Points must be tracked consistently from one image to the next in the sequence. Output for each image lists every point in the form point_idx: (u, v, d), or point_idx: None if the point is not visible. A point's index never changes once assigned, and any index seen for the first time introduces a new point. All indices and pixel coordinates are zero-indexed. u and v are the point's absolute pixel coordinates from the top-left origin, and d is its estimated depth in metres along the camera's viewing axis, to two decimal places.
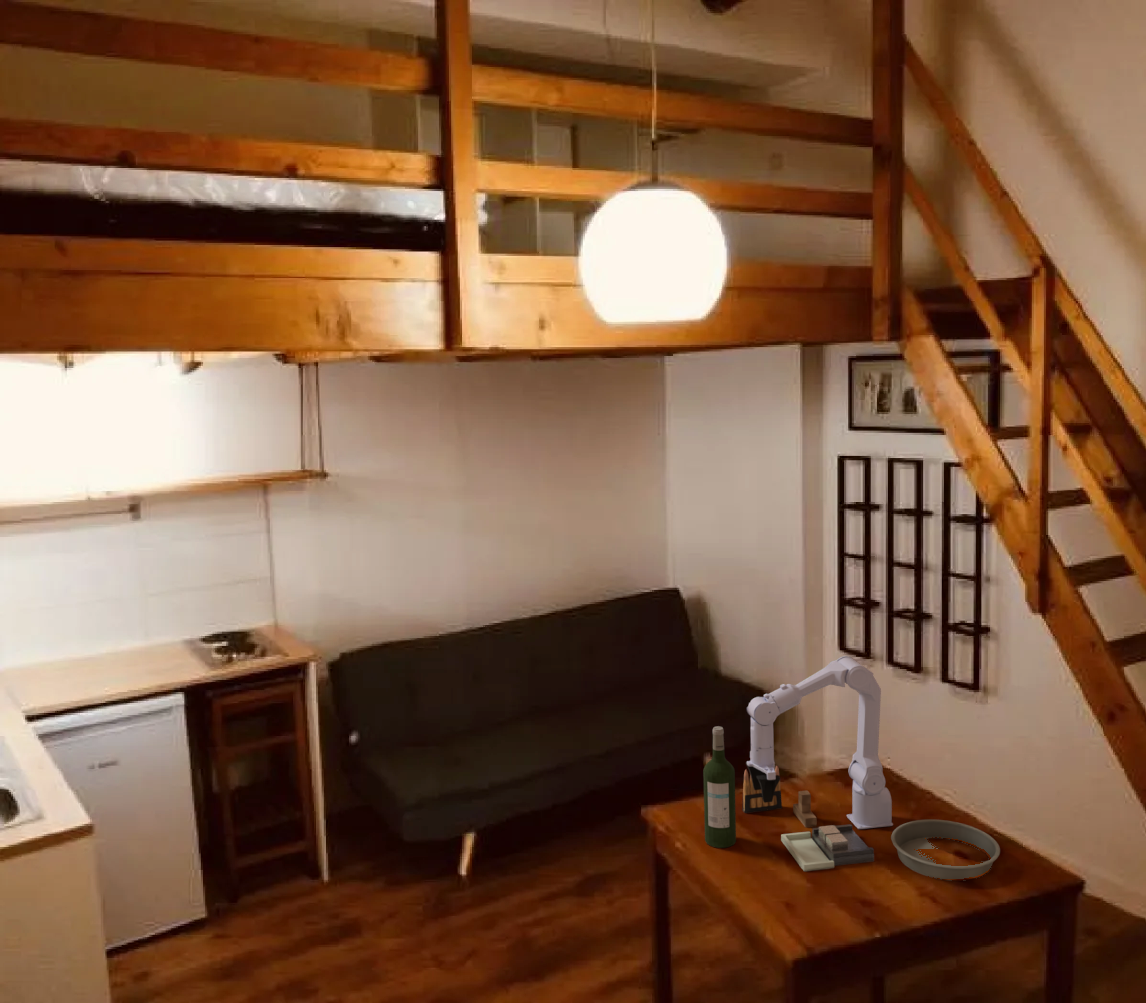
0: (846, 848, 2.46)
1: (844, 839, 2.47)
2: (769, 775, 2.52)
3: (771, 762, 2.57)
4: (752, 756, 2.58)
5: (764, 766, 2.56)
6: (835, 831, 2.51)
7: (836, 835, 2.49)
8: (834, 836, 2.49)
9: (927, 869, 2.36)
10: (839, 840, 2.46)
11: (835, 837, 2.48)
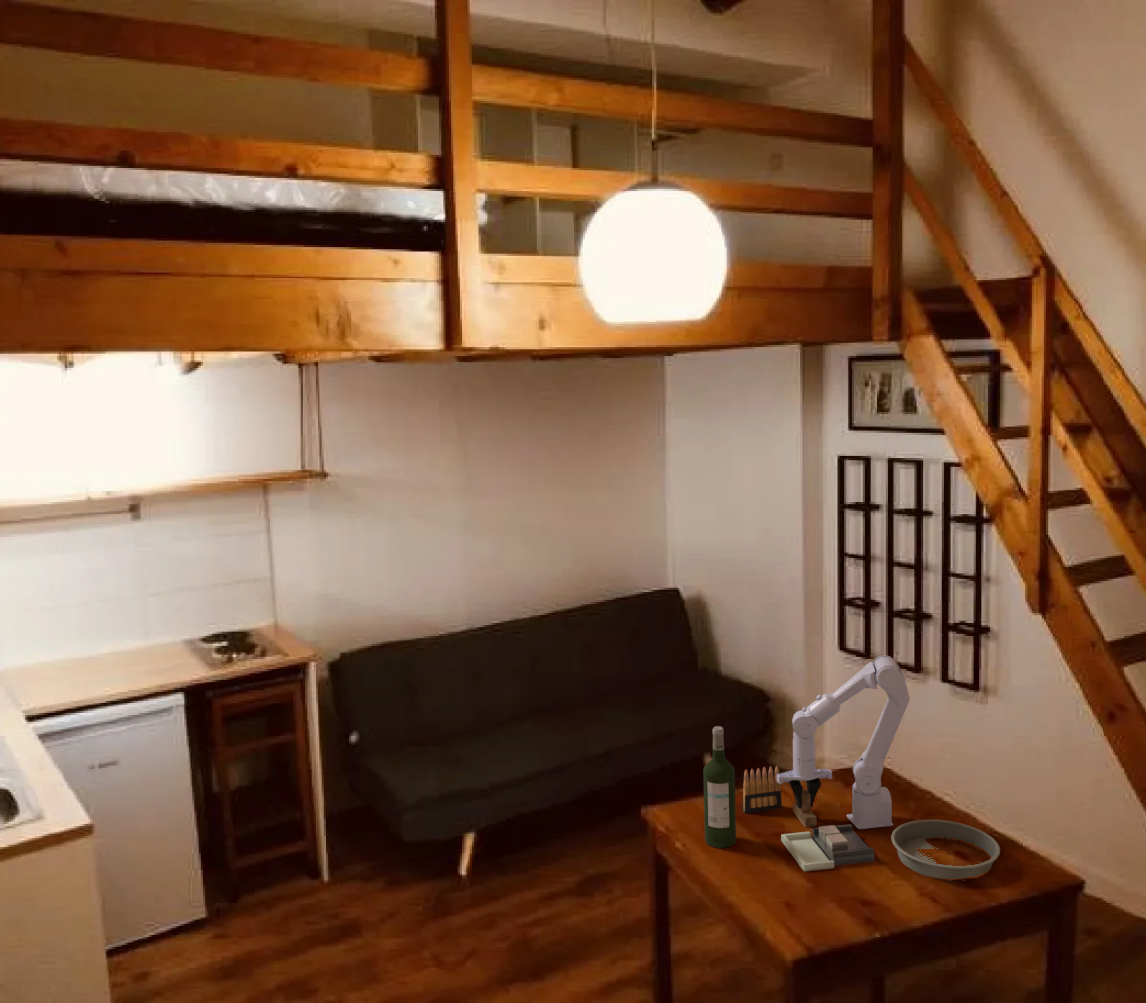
0: (846, 848, 2.46)
1: (844, 839, 2.47)
2: None
3: (797, 774, 2.64)
4: None
5: (792, 773, 2.66)
6: (835, 831, 2.51)
7: (836, 835, 2.49)
8: (834, 836, 2.49)
9: (927, 869, 2.36)
10: (839, 840, 2.46)
11: (835, 837, 2.48)
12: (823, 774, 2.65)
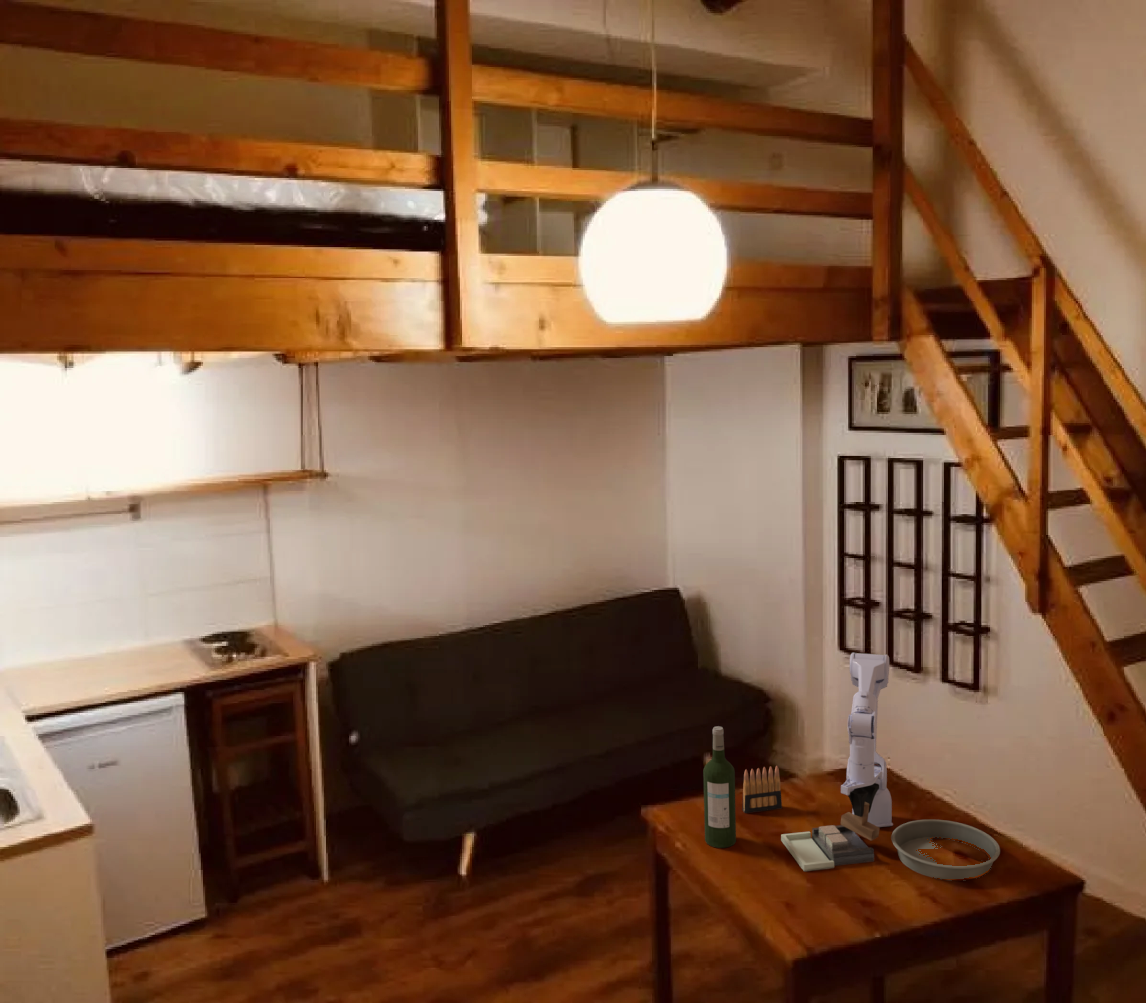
0: (846, 848, 2.46)
1: (844, 839, 2.47)
2: (842, 788, 2.45)
3: (862, 780, 2.46)
4: None
5: (853, 781, 2.47)
6: (835, 831, 2.51)
7: (836, 835, 2.49)
8: (834, 836, 2.49)
9: (927, 869, 2.36)
10: (839, 840, 2.46)
11: (835, 837, 2.48)
12: (878, 775, 2.51)
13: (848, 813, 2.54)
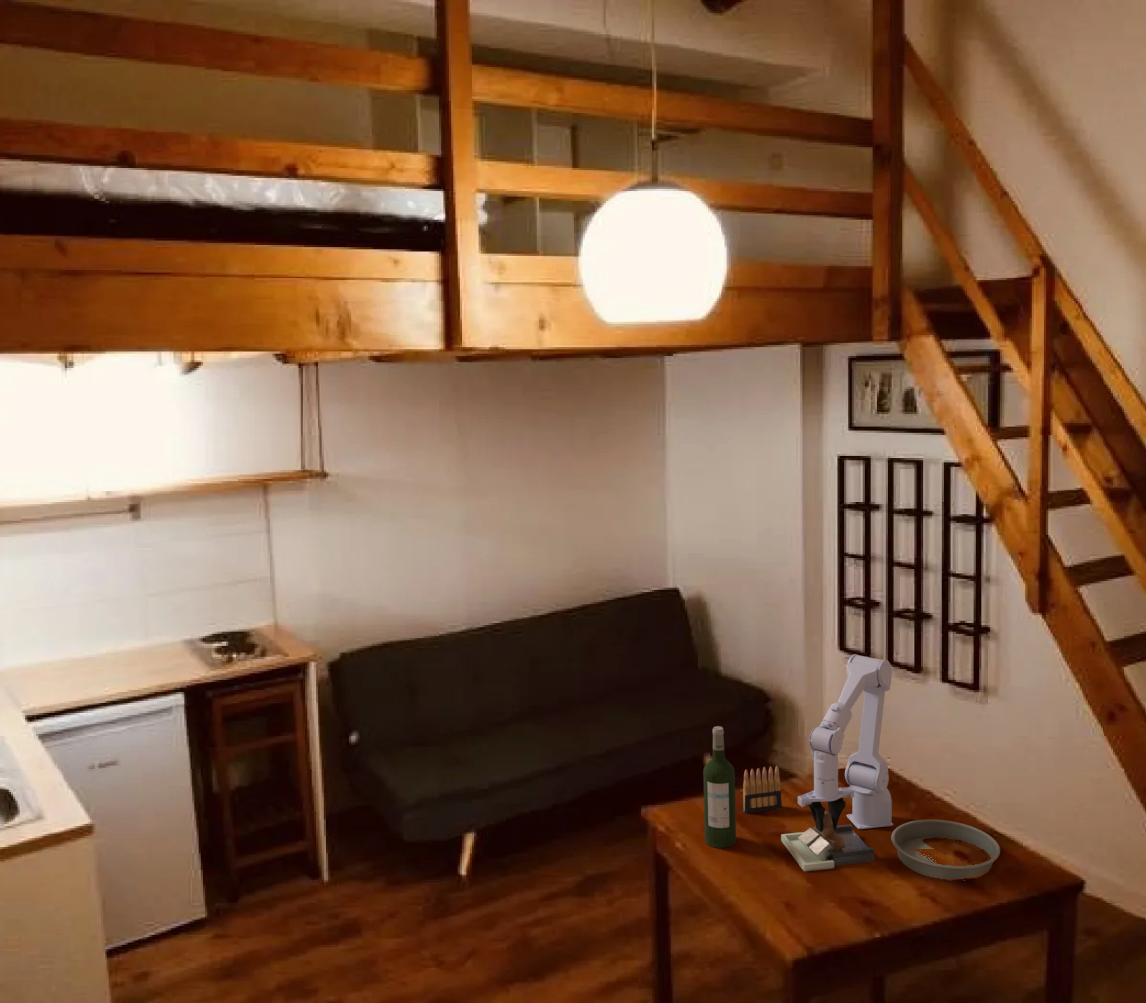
0: (832, 849, 2.45)
1: (825, 843, 2.45)
2: (798, 799, 2.47)
3: (820, 795, 2.46)
4: None
5: (814, 794, 2.48)
6: (814, 835, 2.50)
7: (817, 842, 2.47)
8: (816, 844, 2.47)
9: (927, 869, 2.36)
10: (822, 847, 2.45)
11: (817, 845, 2.46)
12: (846, 793, 2.48)
13: None
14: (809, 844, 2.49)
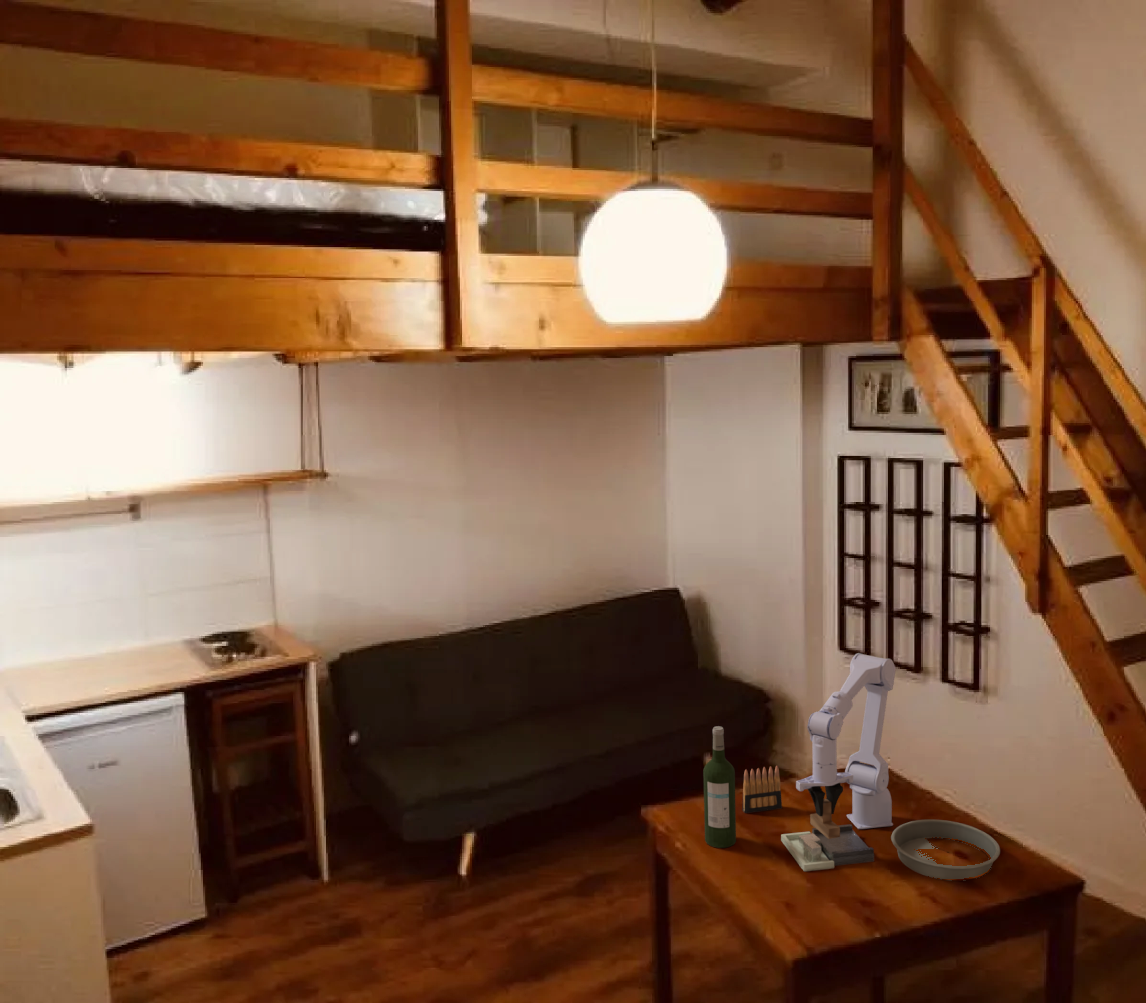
0: (818, 848, 2.44)
1: (810, 848, 2.44)
2: (796, 784, 2.47)
3: (819, 780, 2.46)
4: None
5: (812, 779, 2.48)
6: (816, 839, 2.51)
7: (805, 849, 2.46)
8: (805, 851, 2.46)
9: (927, 869, 2.36)
10: (810, 854, 2.44)
11: (807, 852, 2.46)
12: (844, 778, 2.48)
13: None
14: None
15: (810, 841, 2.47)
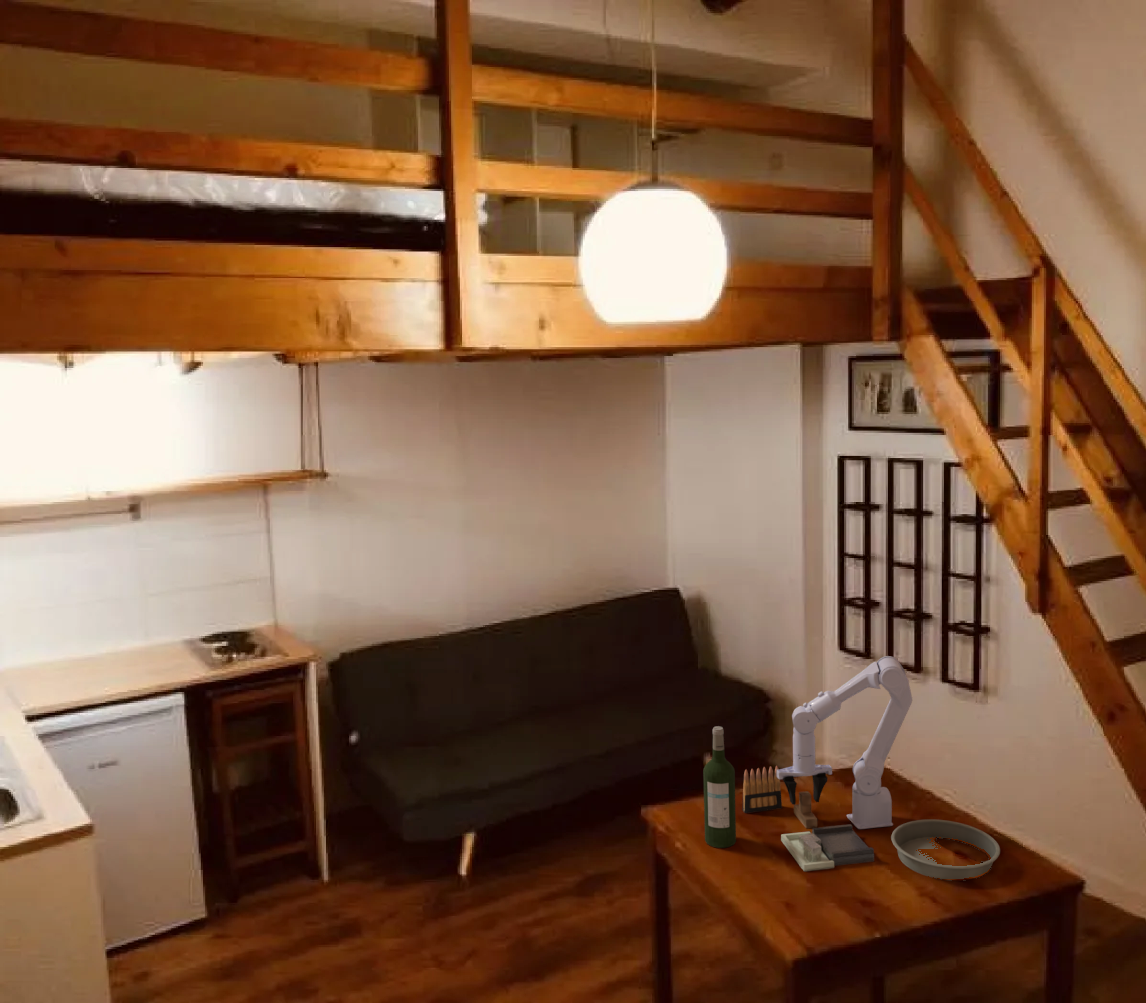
0: (818, 848, 2.44)
1: (810, 848, 2.44)
2: None
3: (797, 770, 2.64)
4: None
5: (792, 769, 2.66)
6: (816, 839, 2.51)
7: (805, 849, 2.46)
8: (805, 851, 2.46)
9: (927, 869, 2.36)
10: (810, 854, 2.44)
11: (807, 852, 2.46)
12: (823, 770, 2.65)
13: None
14: None
15: (810, 841, 2.47)
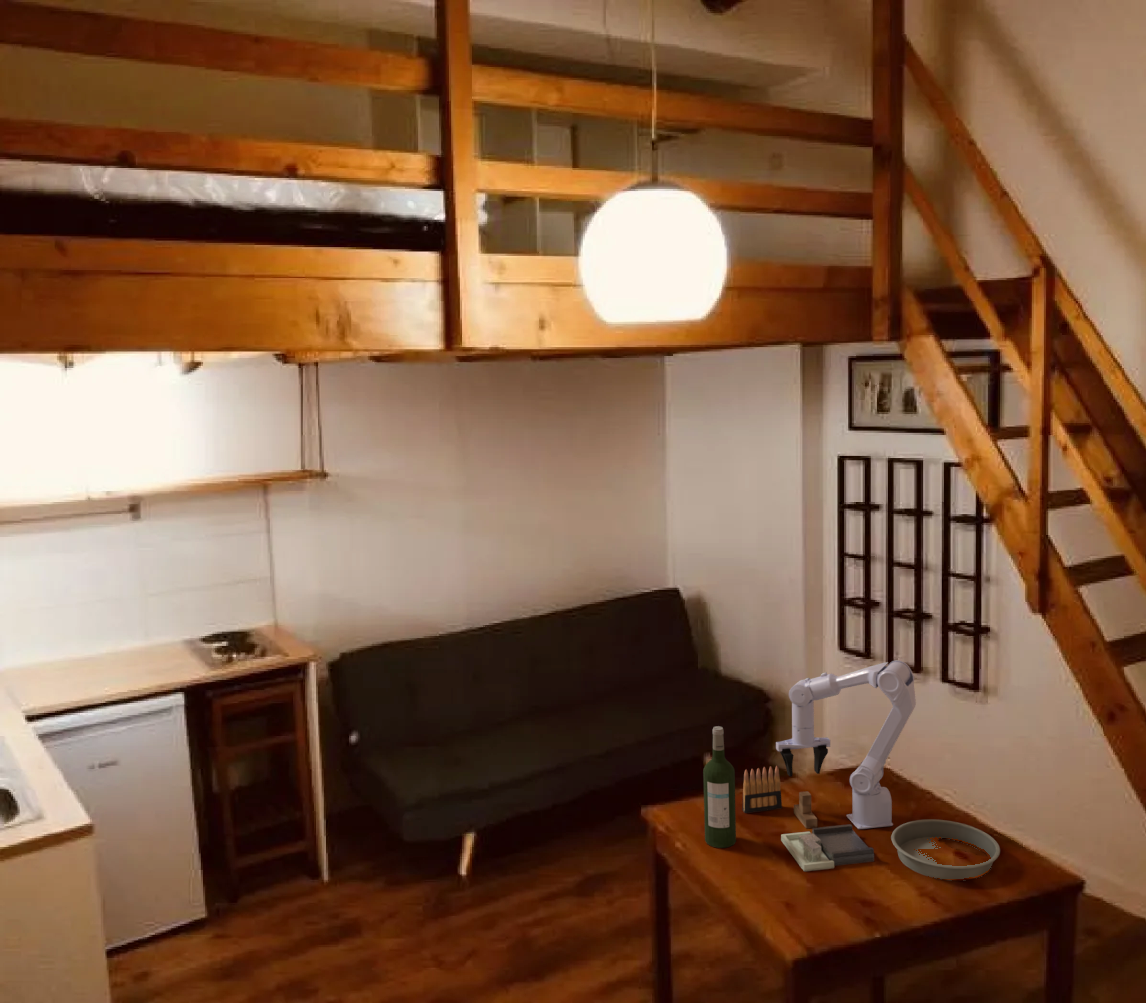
0: (818, 848, 2.44)
1: (810, 848, 2.44)
2: (776, 745, 2.71)
3: (796, 742, 2.70)
4: None
5: (791, 741, 2.72)
6: (816, 839, 2.51)
7: (805, 849, 2.46)
8: (805, 851, 2.46)
9: (927, 869, 2.36)
10: (810, 854, 2.44)
11: (807, 852, 2.46)
12: (821, 742, 2.71)
13: None
14: None
15: (810, 841, 2.47)
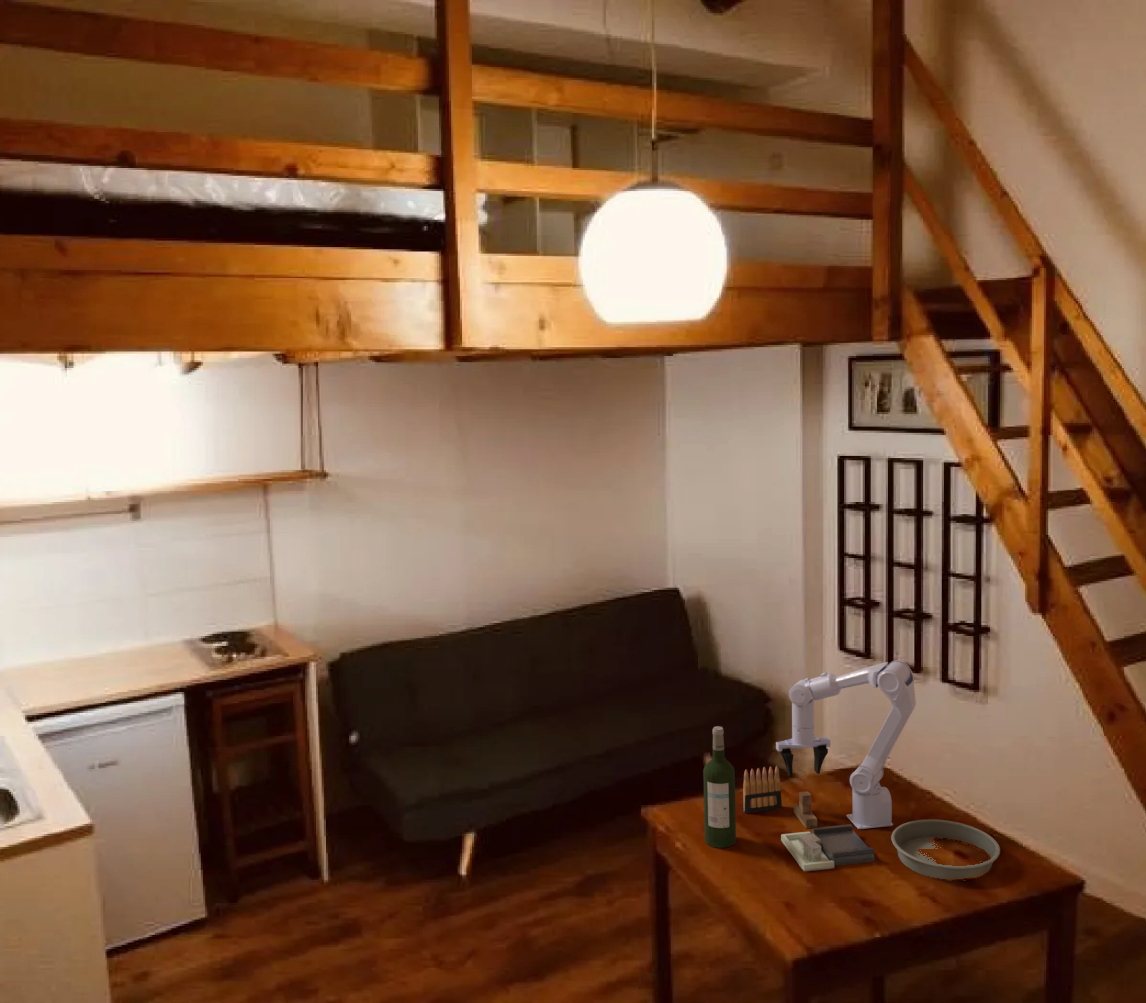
0: (818, 848, 2.44)
1: (810, 848, 2.44)
2: (776, 745, 2.71)
3: (796, 742, 2.70)
4: None
5: (791, 741, 2.72)
6: (816, 839, 2.51)
7: (805, 849, 2.46)
8: (805, 851, 2.46)
9: (927, 869, 2.36)
10: (810, 854, 2.44)
11: (807, 852, 2.46)
12: (822, 742, 2.71)
13: None
14: None
15: (810, 841, 2.47)
